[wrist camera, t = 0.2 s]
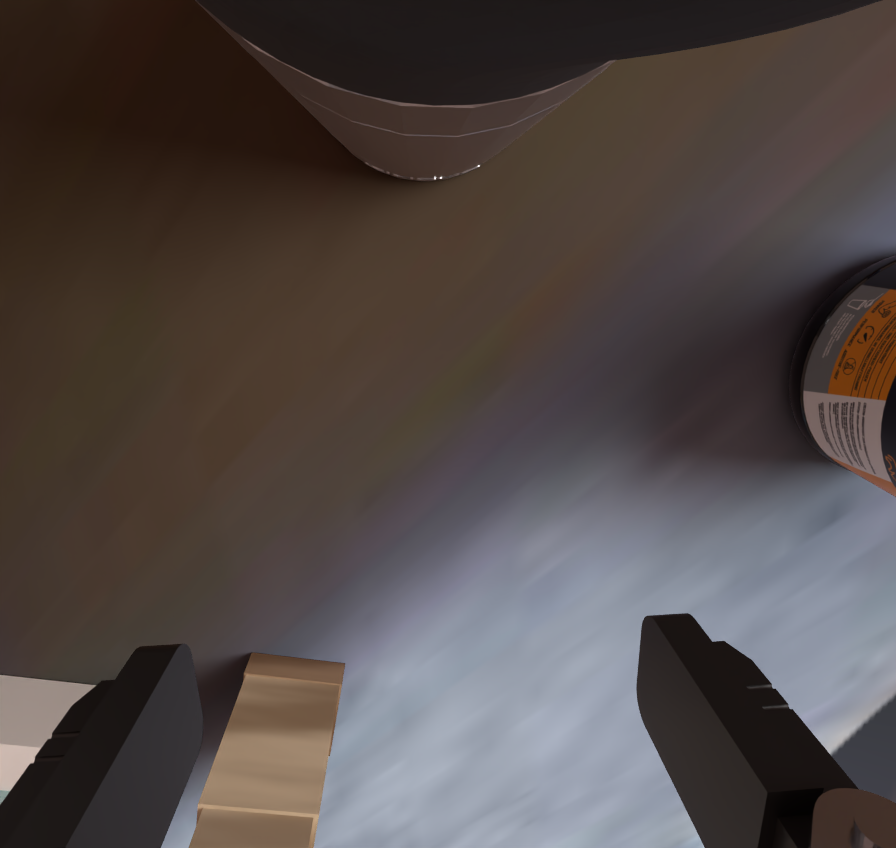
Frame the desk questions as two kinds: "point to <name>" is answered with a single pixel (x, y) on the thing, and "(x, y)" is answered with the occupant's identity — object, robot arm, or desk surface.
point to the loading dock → (30, 721)
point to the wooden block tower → (272, 757)
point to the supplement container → (851, 376)
